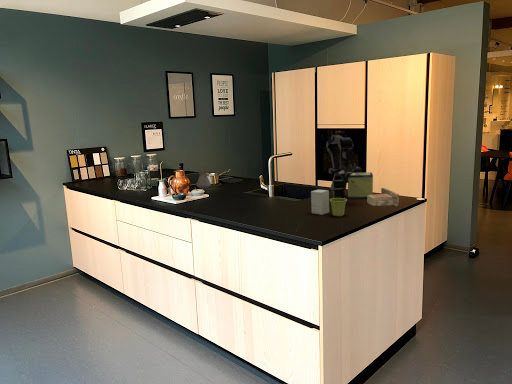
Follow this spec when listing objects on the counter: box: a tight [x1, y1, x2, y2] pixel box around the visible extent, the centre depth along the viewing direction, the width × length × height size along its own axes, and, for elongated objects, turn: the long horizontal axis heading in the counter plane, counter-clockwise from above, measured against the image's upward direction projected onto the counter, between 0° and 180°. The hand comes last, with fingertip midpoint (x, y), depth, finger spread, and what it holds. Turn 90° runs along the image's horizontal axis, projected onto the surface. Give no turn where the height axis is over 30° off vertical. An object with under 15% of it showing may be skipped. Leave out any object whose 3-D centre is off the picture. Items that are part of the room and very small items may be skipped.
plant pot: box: [329, 197, 348, 217], centre depth 228 cm, size 9×9×9 cm
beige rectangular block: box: [366, 193, 392, 207], centre depth 251 cm, size 12×9×5 cm
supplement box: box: [310, 189, 330, 216], centre depth 235 cm, size 7×7×13 cm
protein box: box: [347, 172, 374, 200], centre depth 271 cm, size 10×16×16 cm
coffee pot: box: [196, 170, 215, 190], centre depth 331 cm, size 21×12×15 cm, turn 38°
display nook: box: [376, 187, 400, 207], centre depth 253 cm, size 11×22×7 cm, turn 6°
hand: (345, 184), depth 253 cm, fingers closed
